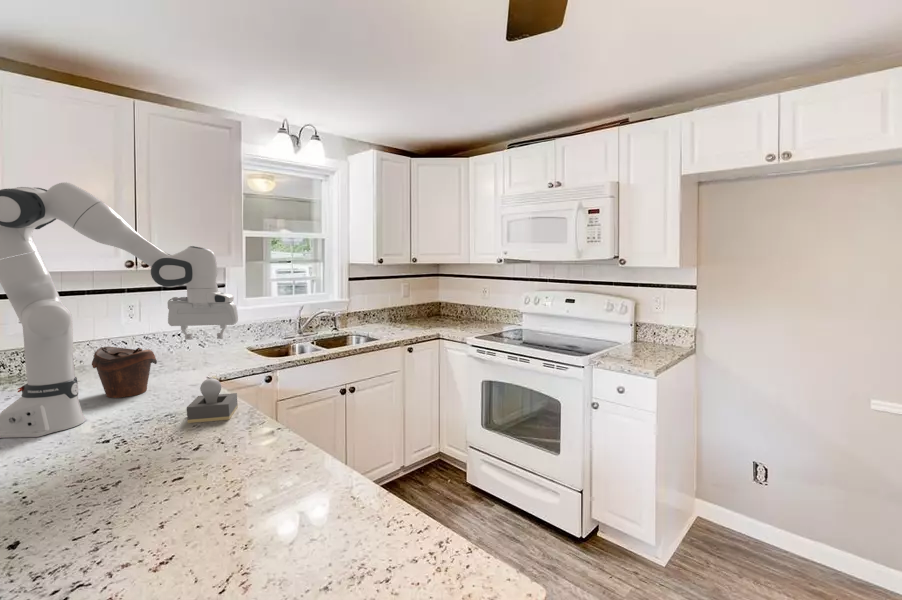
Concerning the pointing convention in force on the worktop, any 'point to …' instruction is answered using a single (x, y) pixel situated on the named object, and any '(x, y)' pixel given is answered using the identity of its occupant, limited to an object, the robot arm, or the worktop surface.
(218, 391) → the lightbulb
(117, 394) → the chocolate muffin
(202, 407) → the socket block
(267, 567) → the worktop surface
